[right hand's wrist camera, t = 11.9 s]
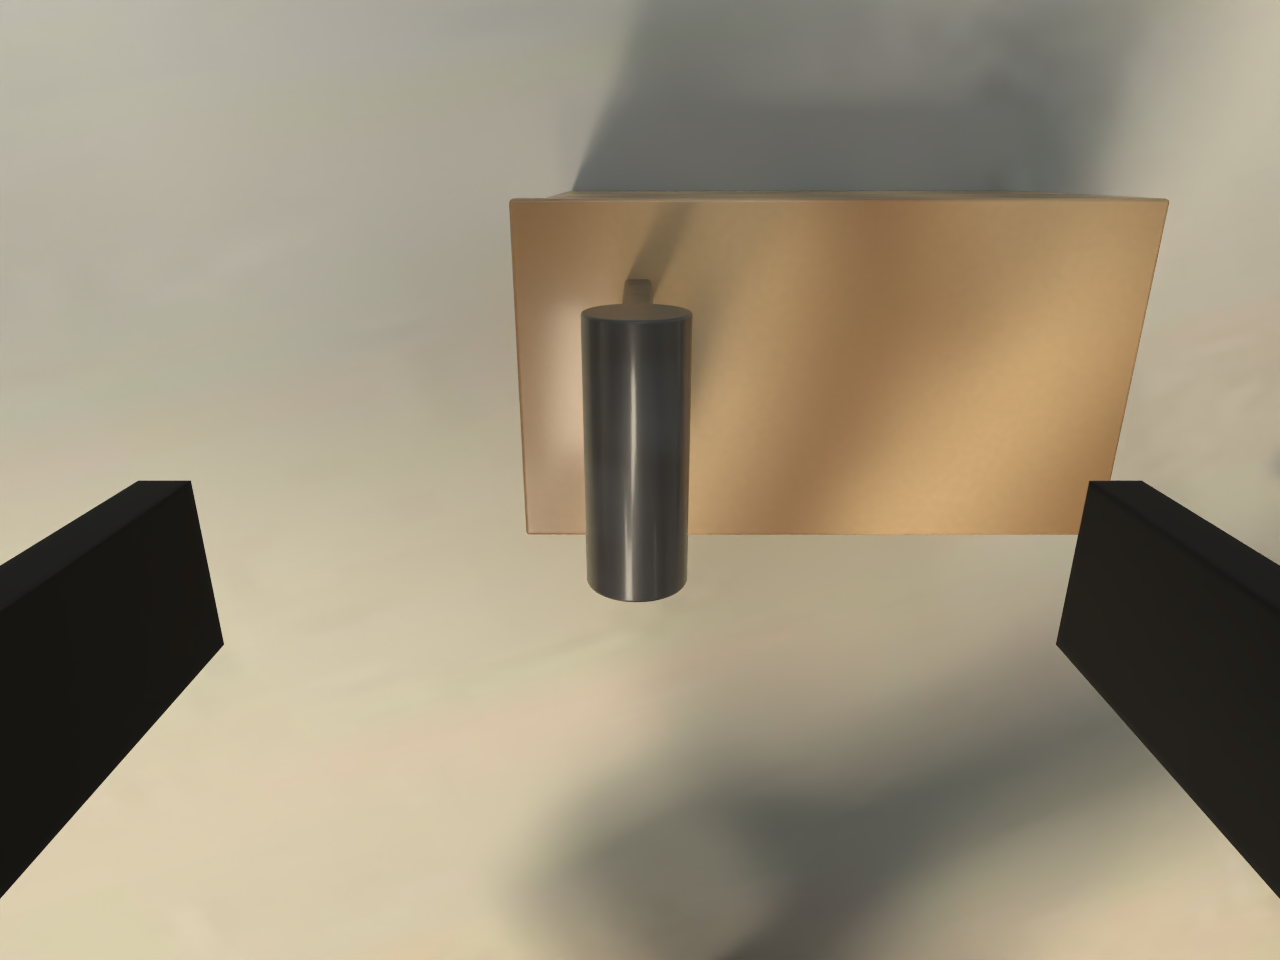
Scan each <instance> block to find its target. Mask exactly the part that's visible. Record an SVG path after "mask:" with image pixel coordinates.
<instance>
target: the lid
mask: <svg viewBox="0 0 1280 960" xmlns="http://www.w3.org/2000/svg"><path fill="white" fill-rule="evenodd" d="M1168 205H1169V200H1167V199H1160V198H514V199H511V200H510V202H509V210H510V229H511V248H512V267H513V286H514V305H515V324H516V343H517V362H518V381H519V400H520V419H521V438H522V457H523V476H524V495H525V514H526V531H527V533H528V534H586V552H587V580H588V583H589V585H590V587H591V588H592V589H593V590H594V591H596V592H597V593H599V594H600V595H603V596H605V597H608V598H611V599H614V600H619V601H627V602H647V601H655V600H659V599H663V598H666V597H669V596H671V595H674V594H675V593H677V592H678V591H680V590H681V589H682V588H683V587H684V585H685V583H686V581H687V554H688V534H947V535H1078V534H1079V529H1080V524H1081V519H1082V514H1083V509H1084V504H1085V499H1086V494H1087V489H1088V484H1089V481H1110V479H1111V474H1112V469H1113V464H1114V460H1115V455H1116V450H1117V446H1118V441H1119V436H1120V431H1121V427H1122V422H1123V417H1124V413H1125V408H1126V403H1127V398H1128V394H1129V389H1130V384H1131V380H1132V375H1133V370H1134V365H1135V361H1136V356H1137V351H1138V346H1139V342H1140V337H1141V332H1142V328H1143V323H1144V318H1145V313H1146V309H1147V304H1148V299H1149V295H1150V290H1151V285H1152V280H1153V276H1154V271H1155V266H1156V262H1157V257H1158V252H1159V247H1160V243H1161V238H1162V233H1163V228H1164V224H1165V219H1166V214H1167V210H1168Z"/></svg>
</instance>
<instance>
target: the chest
mask: <svg viewBox="0 0 1280 960" xmlns="http://www.w3.org/2000/svg"><path fill="white" fill-rule="evenodd" d="M548 198H1142V197H1123V196H1103V195H1083V194H1064V193H1044V192H1023V191H570V192H566V193H563V194H559V195H555V196H552V197H548Z"/></svg>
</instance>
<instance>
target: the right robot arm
mask: <svg viewBox="0 0 1280 960" xmlns="http://www.w3.org/2000/svg"><path fill="white" fill-rule="evenodd" d="M223 645H224V642H223V637H222V632H221V628H220V623H219V618H218V613H217V608H216V603H215V598H214V593H213V588H212V583H211V578H210V573H209V568H208V563H207V558H206V554H205V549H204V544H203V539H202V534H201V529H200V524H199V519H198V514H197V509H196V504H195V499H194V494H193V489H192V484H191V481H137V482H136V483H134V484H132V485H131V486H129V487H127V488H126V489H124V490H123V491H121V492H119V493H118V494H116V495H114V496H113V497H111V498H110V499H108V500H106V501H105V502H103V503H101V504H100V505H98V506H97V507H95V508H93V509H92V510H90V511H88V512H87V513H85V514H84V515H82V516H80V517H79V518H77V519H75V520H74V521H72V522H71V523H69V524H67V525H66V526H64V527H62V528H61V529H59V530H58V531H56V532H54V533H53V534H51V535H49V536H48V537H46V538H45V539H43V540H41V541H40V542H38V543H36V544H35V545H33V546H32V547H30V548H28V549H27V550H25V551H23V552H22V553H20V554H19V555H17V556H15V557H14V558H12V559H10V560H9V561H7V562H6V563H4V564H2V565H1V566H0V898H1V897H2V896H3V895H4V894H5V893H6V891H7V890H8V889H9V888H10V887H11V886H12V885H13V884H14V882H15V881H16V880H17V879H18V878H19V877H20V876H21V874H22V873H23V872H24V871H25V870H26V869H27V868H28V866H29V865H30V864H31V863H32V862H33V861H34V860H35V859H36V857H37V856H38V855H39V854H40V853H41V852H42V851H43V849H44V848H45V847H46V846H47V845H48V844H49V843H50V841H51V840H52V839H53V838H54V837H55V836H56V835H57V834H58V832H59V831H60V830H61V829H62V828H63V827H64V826H65V824H66V823H67V822H68V821H69V820H70V819H71V818H72V817H73V815H74V814H75V813H76V812H77V811H78V810H79V809H80V807H81V806H82V805H83V804H84V803H85V802H86V801H87V799H88V798H89V797H90V796H91V795H92V794H93V793H94V792H95V790H96V789H97V788H98V787H99V786H100V785H101V784H102V782H103V781H104V780H105V779H106V778H107V777H108V776H109V774H110V773H111V772H112V771H113V770H114V769H115V768H116V767H117V765H118V764H119V763H120V762H121V761H122V760H123V759H124V757H125V756H126V755H127V754H128V753H129V752H130V751H131V749H132V748H133V747H134V746H135V745H136V744H137V743H138V742H139V740H140V739H141V738H142V737H143V736H144V735H145V734H146V732H147V731H148V730H149V729H150V728H151V727H152V726H153V725H154V723H155V722H156V721H157V720H158V719H159V718H160V717H161V715H162V714H163V713H164V712H165V711H166V710H167V709H168V707H169V706H170V705H171V704H172V703H173V702H174V701H175V700H176V698H177V697H178V696H179V695H180V694H181V693H182V692H183V690H184V689H185V688H186V687H187V686H188V685H189V684H190V682H191V681H192V680H193V679H194V678H195V677H196V676H197V675H198V673H199V672H200V671H201V670H202V669H203V668H204V667H205V665H206V664H207V663H208V662H209V661H210V660H211V659H212V657H213V656H214V655H215V654H216V653H217V652H218V651H219V650H220V648H221V647H222V646H223ZM1056 645H1057V646H1058V647H1059V648H1060V650H1061V651H1062V652H1063V653H1064V654H1065V655H1066V656H1067V657H1068V659H1069V660H1070V661H1071V662H1072V663H1073V664H1074V665H1075V667H1076V668H1077V669H1078V670H1079V671H1080V672H1081V673H1082V675H1083V676H1084V677H1085V678H1086V679H1087V680H1088V681H1089V682H1090V684H1091V685H1092V686H1093V687H1094V688H1095V689H1096V690H1097V692H1098V693H1099V694H1100V695H1101V696H1102V697H1103V698H1104V700H1105V701H1106V702H1107V703H1108V704H1109V705H1110V706H1111V707H1112V709H1113V710H1114V711H1115V712H1116V713H1117V714H1118V715H1119V717H1120V718H1121V719H1122V720H1123V721H1124V722H1125V723H1126V725H1127V726H1128V727H1129V728H1130V729H1131V730H1132V731H1133V732H1134V734H1135V735H1136V736H1137V737H1138V738H1139V739H1140V740H1141V742H1142V743H1143V744H1144V745H1145V746H1146V747H1147V748H1148V749H1149V751H1150V752H1151V753H1152V754H1153V755H1154V756H1155V757H1156V759H1157V760H1158V761H1159V762H1160V763H1161V764H1162V765H1163V767H1164V768H1165V769H1166V770H1167V771H1168V772H1169V773H1170V774H1171V776H1172V777H1173V778H1174V779H1175V780H1176V781H1177V782H1178V784H1179V785H1180V786H1181V787H1182V788H1183V789H1184V790H1185V792H1186V793H1187V794H1188V795H1189V796H1190V797H1191V798H1192V799H1193V801H1194V802H1195V803H1196V804H1197V805H1198V806H1199V807H1200V809H1201V810H1202V811H1203V812H1204V813H1205V814H1206V815H1207V817H1208V818H1209V819H1210V820H1211V821H1212V822H1213V823H1214V824H1215V826H1216V827H1217V828H1218V829H1219V830H1220V831H1221V832H1222V834H1223V835H1224V836H1225V837H1226V838H1227V839H1228V840H1229V841H1230V843H1231V844H1232V845H1233V846H1234V847H1235V848H1236V849H1237V851H1238V852H1239V853H1240V854H1241V855H1242V856H1243V857H1244V859H1245V860H1246V861H1247V862H1248V863H1249V864H1250V865H1251V866H1252V868H1253V869H1254V870H1255V871H1256V872H1257V873H1258V874H1259V876H1260V877H1261V878H1262V879H1263V880H1264V881H1265V882H1266V884H1267V885H1268V886H1269V887H1270V888H1271V889H1272V890H1273V891H1274V893H1275V894H1276V895H1277V896H1278V897H1279V898H1280V566H1279V565H1278V564H1276V563H1274V562H1273V561H1271V560H1270V559H1268V558H1266V557H1265V556H1263V555H1261V554H1260V553H1258V552H1257V551H1255V550H1253V549H1252V548H1250V547H1248V546H1247V545H1245V544H1244V543H1242V542H1240V541H1239V540H1237V539H1235V538H1234V537H1232V536H1231V535H1229V534H1227V533H1226V532H1224V531H1222V530H1221V529H1219V528H1218V527H1216V526H1214V525H1213V524H1211V523H1209V522H1208V521H1206V520H1205V519H1203V518H1201V517H1200V516H1198V515H1196V514H1195V513H1193V512H1192V511H1190V510H1188V509H1187V508H1185V507H1183V506H1182V505H1180V504H1179V503H1177V502H1175V501H1174V500H1172V499H1170V498H1169V497H1167V496H1166V495H1164V494H1162V493H1161V492H1159V491H1157V490H1156V489H1154V488H1153V487H1151V486H1149V485H1148V484H1146V483H1144V482H1143V481H1089V484H1088V489H1087V494H1086V499H1085V504H1084V509H1083V514H1082V519H1081V524H1080V529H1079V534H1078V539H1077V544H1076V549H1075V554H1074V558H1073V563H1072V568H1071V573H1070V578H1069V583H1068V588H1067V593H1066V598H1065V603H1064V608H1063V613H1062V618H1061V623H1060V628H1059V632H1058V637H1057V642H1056Z"/></svg>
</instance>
